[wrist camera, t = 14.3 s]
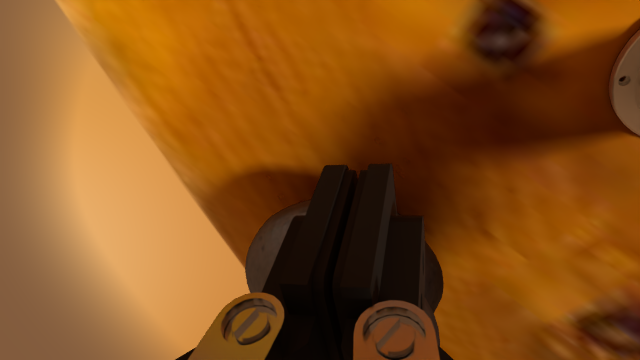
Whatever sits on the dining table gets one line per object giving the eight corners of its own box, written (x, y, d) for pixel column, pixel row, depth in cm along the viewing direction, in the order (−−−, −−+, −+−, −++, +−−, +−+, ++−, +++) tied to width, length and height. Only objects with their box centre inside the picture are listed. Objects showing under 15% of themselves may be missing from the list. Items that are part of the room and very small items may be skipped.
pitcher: (244, 209, 55) (136, 395, 36) (364, 106, 43) (303, 301, 24) (355, 299, 61) (316, 506, 41) (490, 230, 49) (526, 474, 29)
